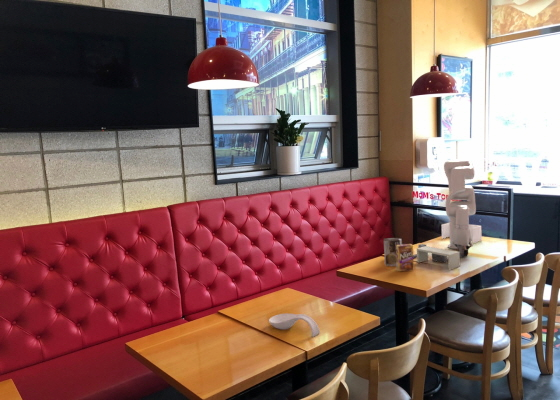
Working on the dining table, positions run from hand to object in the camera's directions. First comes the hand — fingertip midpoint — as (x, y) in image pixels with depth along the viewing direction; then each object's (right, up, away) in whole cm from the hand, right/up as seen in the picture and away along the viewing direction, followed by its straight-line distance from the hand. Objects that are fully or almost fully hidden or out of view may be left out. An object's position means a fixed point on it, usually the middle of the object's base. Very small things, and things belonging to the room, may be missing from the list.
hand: (462, 255), depth 280 cm
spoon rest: (-110, -20, -94) cm, 146 cm away
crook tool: (-9, -2, -2) cm, 10 cm away
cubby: (-21, -4, -14) cm, 25 cm away
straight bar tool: (-28, -2, +6) cm, 28 cm away
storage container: (+18, +5, +45) cm, 49 cm away
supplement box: (-42, -3, +6) cm, 42 cm away
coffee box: (-47, -5, -8) cm, 48 cm away
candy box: (-43, -6, -21) cm, 48 cm away
